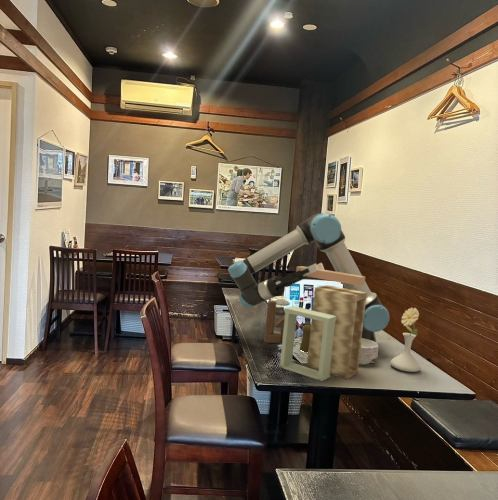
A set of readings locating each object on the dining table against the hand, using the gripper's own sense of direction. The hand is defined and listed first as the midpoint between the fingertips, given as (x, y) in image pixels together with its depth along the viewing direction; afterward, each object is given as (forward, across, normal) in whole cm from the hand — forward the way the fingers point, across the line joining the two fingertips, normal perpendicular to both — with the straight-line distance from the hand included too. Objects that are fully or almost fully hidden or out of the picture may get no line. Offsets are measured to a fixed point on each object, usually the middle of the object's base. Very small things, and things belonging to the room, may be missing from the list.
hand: (319, 266), depth 169 cm
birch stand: (-11, 0, -37) cm, 39 cm away
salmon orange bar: (+2, 0, -6) cm, 6 cm away
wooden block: (-38, -11, -21) cm, 45 cm away
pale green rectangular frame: (-16, +11, -34) cm, 39 cm away
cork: (-26, -12, -28) cm, 40 cm away
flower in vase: (+7, -23, -47) cm, 53 cm away
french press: (-46, -28, -17) cm, 56 cm away
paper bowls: (-9, -18, -39) cm, 43 cm away
